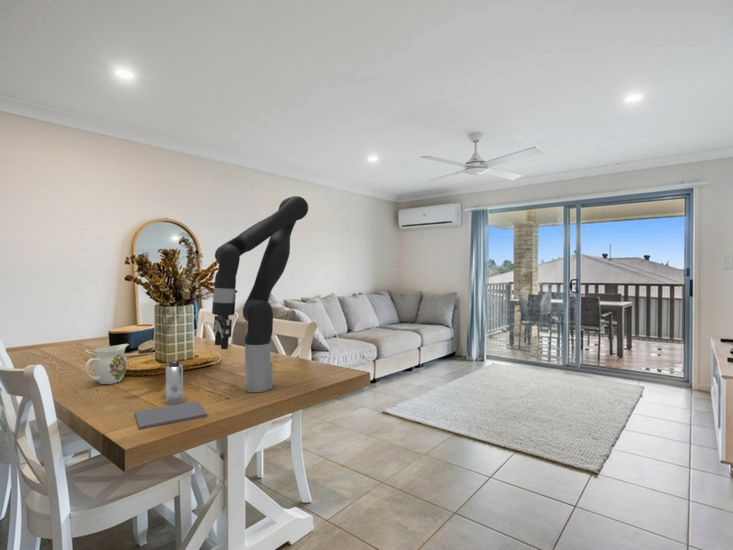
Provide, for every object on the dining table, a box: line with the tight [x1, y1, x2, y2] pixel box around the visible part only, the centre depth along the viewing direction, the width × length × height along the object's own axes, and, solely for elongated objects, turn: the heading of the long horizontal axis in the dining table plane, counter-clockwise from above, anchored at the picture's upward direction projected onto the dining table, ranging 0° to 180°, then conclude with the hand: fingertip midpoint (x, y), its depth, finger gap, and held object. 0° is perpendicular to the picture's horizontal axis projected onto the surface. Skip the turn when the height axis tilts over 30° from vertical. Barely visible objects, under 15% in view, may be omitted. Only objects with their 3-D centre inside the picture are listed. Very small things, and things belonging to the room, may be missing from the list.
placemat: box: [134, 400, 208, 430], centre depth 122 cm, size 18×14×1 cm
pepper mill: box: [165, 359, 184, 405], centre depth 134 cm, size 5×5×14 cm
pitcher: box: [84, 343, 130, 385], centre depth 155 cm, size 11×18×14 cm, turn 162°
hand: (221, 347), depth 140 cm, fingers open, 8 cm apart
